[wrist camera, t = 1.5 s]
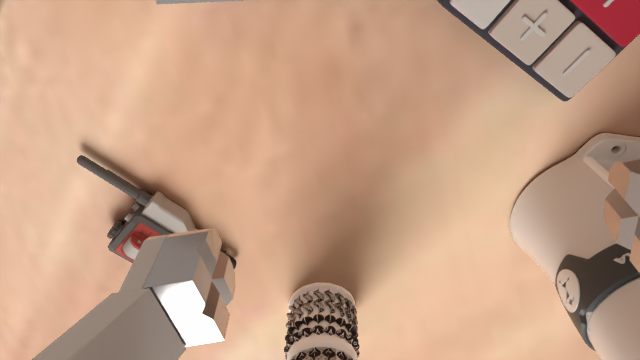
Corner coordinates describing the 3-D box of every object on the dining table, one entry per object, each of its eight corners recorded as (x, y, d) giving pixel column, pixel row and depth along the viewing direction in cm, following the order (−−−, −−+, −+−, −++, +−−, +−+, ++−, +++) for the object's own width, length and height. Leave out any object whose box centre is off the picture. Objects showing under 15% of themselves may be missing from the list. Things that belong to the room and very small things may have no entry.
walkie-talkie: (250, 246, 53) (88, 143, 46) (245, 274, 50) (68, 167, 42) (206, 286, 57) (50, 196, 49) (198, 314, 53) (28, 222, 46)
